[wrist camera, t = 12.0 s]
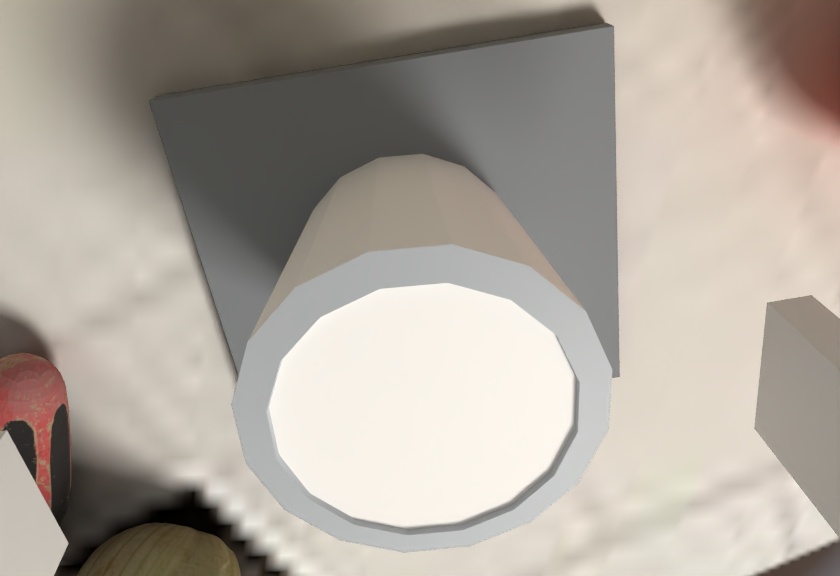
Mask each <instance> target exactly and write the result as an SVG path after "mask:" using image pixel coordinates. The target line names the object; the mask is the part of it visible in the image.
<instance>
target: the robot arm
mask: <svg viewBox="0 0 840 576" xmlns="http://www.w3.org/2000/svg"><path fill="white" fill-rule="evenodd" d="M755 430H756V431H757V432H758V434H759V435H760V436H761V437H762V439H763V440H764V441H765V443H766V444H767V445H768V446H769V448H770V449H771V450H772V452H773V453H774V454H775V455H776V457H777V458H778V459H779V461H780V462H781V463H782V465H783V466H784V467H785V468H786V470H787V471H788V472H789V474H790V475H791V476H792V477H793V479H794V480H795V481H796V483H797V484H798V485H799V486H800V488H801V489H802V490H803V492H804V493H805V494H806V495H807V497H808V498H809V499H810V501H811V502H812V503H813V504H814V506H815V507H816V508H817V510H818V511H819V512H820V513H821V515H822V516H823V517H824V519H825V520H826V521H827V522H828V524H829V525H830V526H831V528H832V529H833V530H834V531H835V533H836V534H837V535H838V537H839V538H840V319H839V318H838V317H837V316H836V315H834V314H833V313H832V312H831V311H830V310H828V309H827V308H826V307H825V306H824V305H822V304H821V303H820V302H819V301H818V300H816V299H815V298H814V297H813V296H812V295H810V296H804V297H798V298H793V299H787V300H781V301H775V302H769V303H767V309H766V319H765V329H764V338H763V348H762V358H761V368H760V378H759V388H758V398H757V408H756V418H755ZM68 544H69V543H68V541H67V540H66V538H65V536H64V534H63V532H62V530H61V529H60V527H59V525H58V523H57V521H56V519H55V518H54V516H53V514H52V512H51V510H50V508H49V507H48V505H47V503H46V501H45V499H44V497H43V496H42V494H41V492H40V490H39V488H38V486H37V485H36V483H35V481H34V479H33V477H32V475H31V474H30V472H29V470H28V468H27V466H26V464H25V463H24V461H23V459H22V457H21V455H20V453H19V452H18V450H17V448H16V446H15V444H14V442H13V441H12V439H11V437H10V435H9V433H8V431H7V430H6V431H0V576H54V574H55V572H56V570H57V568H58V565H59V563H60V561H61V559H62V557H63V555H64V552H65V550H66V548H67V546H68Z"/></svg>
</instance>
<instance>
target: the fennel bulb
mask: <svg viewBox="0 0 840 576" xmlns="http://www.w3.org/2000/svg"><path fill="white" fill-rule="evenodd" d="M77 576H241V574H240V569H239V565H238V561H237V558H236V556H235V554H234V552H233V551H231V550H230V549H229V548H228V547H227V546H226V545H225V543H224V542H223V541H222V540H221V539H220V538H218V537H216V536H214V535H212V534H208V533H205V532H202V531H197V530H196V529H194V528H190V527H187V526H181V525H175V524H168V523H156V522H154V523H146V524H143V525H139V526H135V527H133V528H129V529H127V530H125V531H123V532H121V533H119V534H117V535H115V536H113V537H111V538H109V539H108V540H107V541H105V542H104V543H103V544H101V545H100V546H99V547H98V548H97V549H96V550H95V551H94V552H93V553H92V554H91V555H90V557H89V558H88V559H87V561H86V562H85V563H84V565H83V566H82V568H81V569H80V571H79V572H78V574H77Z"/></svg>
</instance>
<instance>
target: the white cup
mask: <svg viewBox="0 0 840 576" xmlns="http://www.w3.org/2000/svg"><path fill="white" fill-rule="evenodd" d="M611 383H612V368H611V365H610V363H609V361H608V359H607V357H606V354H605V352H604V350H603V348H602V346H601V343H600V341H599V339H598V337H597V334H596V332H595V330H594V328H593V326H592V323H591V321H590V319H589V317H588V315H587V312H586V311H585V309H584V308H583V307H582V305H581V304H580V303H579V302H578V300H577V299H576V298H575V296H574V295H573V294H572V292H571V291H570V290H569V288H568V287H567V286H566V284H565V283H564V282H563V281H562V279H561V278H560V277H559V275H558V274H557V273H556V271H555V270H554V269H553V267H552V266H551V265H550V263H549V262H548V261H547V260H546V258H545V257H544V256H543V254H542V253H541V252H540V250H539V249H538V248H537V246H536V245H535V244H534V242H533V241H532V240H531V238H530V237H529V236H528V235H527V233H526V232H525V231H524V229H523V228H522V227H521V225H520V224H519V223H518V221H517V220H516V219H515V217H514V216H513V215H512V214H511V212H510V211H509V210H508V208H507V207H506V206H505V204H504V203H503V202H502V200H501V199H500V198H499V196H498V195H497V194H496V193H495V192H494V191H493V190H492V189H491V188H489V187H488V186H487V185H486V184H485V183H483V182H482V181H481V180H480V179H479V178H478V177H476V176H475V175H474V174H473V173H472V172H470V171H469V170H468V169H467V168H466V167H464V166H462V165H458V164H455V163H452V162H448V161H445V160H442V159H439V158H435V157H432V156H429V155H426V154H413V155H402V156H391V157H379V158H377V159H375V160H373V161H371V162H369V163H367V164H365V165H363V166H361V167H359V168H357V169H355V170H354V171H352V172H350V173H348V174H346V175H344V176H342V177H340V178H339V179H338V181H337V182H336V183H335V184H334V185H333V187H332V188H331V189H330V190H329V191H328V193H327V194H326V195H325V196H324V197H323V199H322V200H321V201H320V202H319V203H318V204H317V206H316V207H315V208H314V210H313V212H312V214H311V216H310V218H309V220H308V222H307V224H306V226H305V228H304V230H303V232H302V234H301V236H300V238H299V240H298V242H297V244H296V246H295V248H294V250H293V252H292V254H291V256H290V258H289V260H288V262H287V264H286V266H285V268H284V270H283V272H282V274H281V276H280V278H279V280H278V282H277V284H276V286H275V288H274V290H273V292H272V294H271V296H270V298H269V300H268V302H267V304H266V306H265V308H264V310H263V312H262V314H261V316H260V318H259V320H258V322H257V324H256V326H255V328H254V330H253V332H252V334H251V336H250V338H249V340H248V342H247V346H246V349H245V353H244V357H243V361H242V365H241V369H240V373H239V377H238V381H237V385H236V389H235V393H234V396H233V400H232V404H231V405H232V409H233V413H234V417H235V421H236V425H237V429H238V434H239V438H240V442H241V446H242V450H243V454H244V458H245V462H246V464H247V465H248V466H249V468H250V469H251V470H252V471H253V472H254V474H255V475H256V476H257V477H258V478H259V480H260V481H261V482H262V483H263V484H264V486H265V487H266V488H267V489H268V490H269V492H270V493H271V494H272V495H273V496H274V498H275V499H276V500H277V501H278V502H279V504H280V505H281V506H282V507H283V508H284V510H286V511H288V512H290V513H291V514H293V515H295V516H297V517H299V518H300V519H302V520H304V521H306V522H308V523H310V524H311V525H313V526H315V527H317V528H319V529H320V530H322V531H324V532H326V533H328V534H329V535H331V536H333V537H335V538H337V539H339V540H341V541H347V542H352V543H357V544H362V545H367V546H373V547H378V548H383V549H388V550H394V551H399V552H414V551H425V550H435V549H446V548H456V547H467V546H472V545H474V544H477V543H479V542H482V541H484V540H487V539H489V538H492V537H494V536H497V535H499V534H502V533H504V532H507V531H509V530H512V529H514V528H517V527H519V526H522V525H524V524H527V523H529V522H531V521H532V520H534V519H535V518H536V517H537V516H538V515H540V514H541V513H542V512H543V511H544V510H546V509H547V508H548V507H549V506H551V505H552V504H553V503H554V502H555V501H557V500H558V499H559V498H560V497H561V496H563V495H564V494H565V493H566V492H567V491H569V490H570V489H571V488H572V487H574V486H575V485H576V484H577V483H578V482H579V481H580V479H581V477H582V476H583V474H584V472H585V470H586V469H587V467H588V465H589V463H590V461H591V460H592V458H593V456H594V454H595V453H596V451H597V449H598V447H599V445H600V444H601V442H602V440H603V438H604V436H605V435H606V433H607V431H608V429H609V414H610V399H611Z"/></svg>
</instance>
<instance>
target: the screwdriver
mask: <svg viewBox="0 0 840 576" xmlns="http://www.w3.org/2000/svg"><path fill="white" fill-rule="evenodd" d="M6 430H7V431H8V433H9V435H10V437H11V439H12V441H13V442H14V444H15V446H16V448H17V450H18V452H19V453H20V455H21V457H22V459H23V461H24V463H25V464H26V466H27V468H28V470H29V472H30V474H31V475H32V477H33V479H34V481H35V483H36V485H37V486H38V488H39V490H40V492H41V494H42V496H43V497H44V499H45V501H46V503H47V505H48V507H49V508H50V510H51V512H52V514H53V516H54V518H55V519H56V521H57V523H58V525H59V527H60V529H61V525H62V522H63V518H64V515H65V511H66V508H67V505H68V501H69V496H70V491H71V441H70V424H69V410H68V400H67V393H66V386H65V383H64V380H63V378H62V376H61V374H60V372H59V371H58V369H57V368H56V367H55V366H54V365H53V364H51V363H50V362H49V361H48V360H46V359H44V358H42V357H40V356H37V355H34V354H30V353H16V354H10V355H7V356H4V357H2V358H0V431H6Z"/></svg>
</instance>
